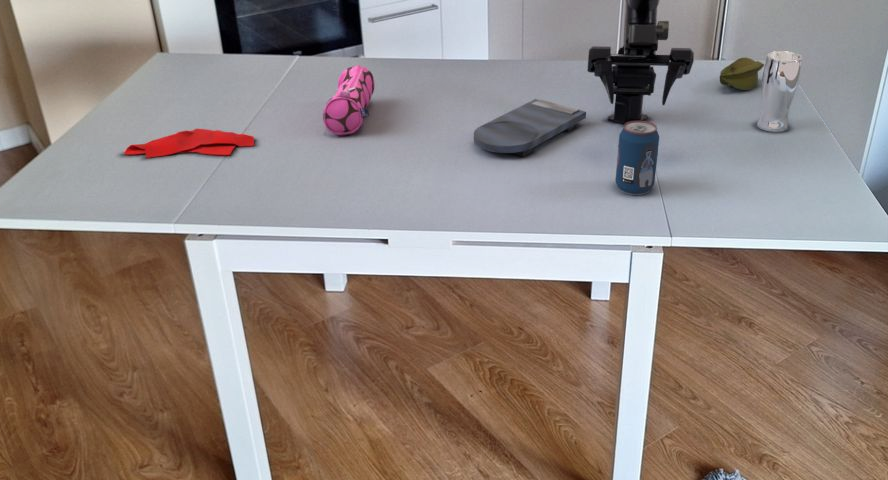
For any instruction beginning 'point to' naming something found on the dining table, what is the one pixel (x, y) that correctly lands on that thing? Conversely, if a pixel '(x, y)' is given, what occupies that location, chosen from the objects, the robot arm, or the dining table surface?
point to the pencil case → (349, 101)
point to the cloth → (193, 143)
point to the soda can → (637, 157)
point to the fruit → (741, 74)
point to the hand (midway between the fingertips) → (637, 103)
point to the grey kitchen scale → (526, 127)
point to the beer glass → (778, 89)
